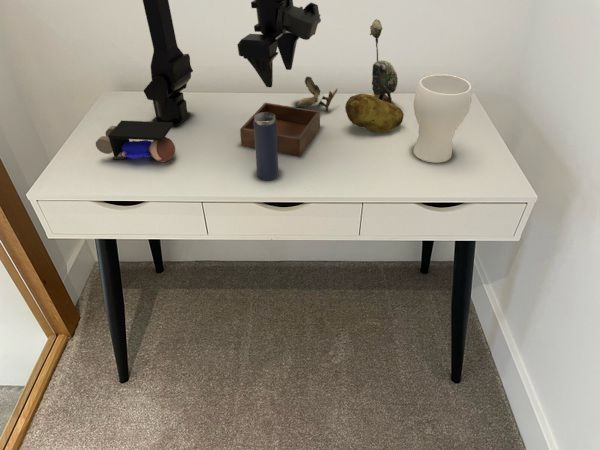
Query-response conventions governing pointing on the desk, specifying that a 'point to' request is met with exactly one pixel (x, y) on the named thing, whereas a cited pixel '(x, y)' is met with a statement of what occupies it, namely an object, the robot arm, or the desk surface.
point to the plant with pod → (382, 72)
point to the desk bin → (286, 128)
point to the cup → (439, 114)
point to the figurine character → (133, 149)
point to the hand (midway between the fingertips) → (279, 77)
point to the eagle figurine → (315, 95)
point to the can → (266, 145)
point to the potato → (373, 113)
